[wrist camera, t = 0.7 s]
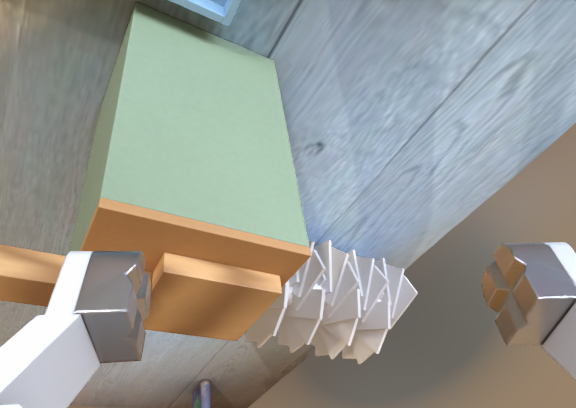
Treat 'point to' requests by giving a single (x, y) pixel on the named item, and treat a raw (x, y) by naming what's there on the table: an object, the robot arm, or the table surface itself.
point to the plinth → (192, 155)
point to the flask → (202, 395)
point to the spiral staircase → (336, 305)
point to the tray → (212, 9)
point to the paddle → (160, 291)
